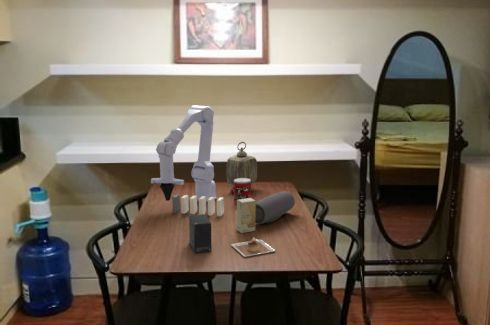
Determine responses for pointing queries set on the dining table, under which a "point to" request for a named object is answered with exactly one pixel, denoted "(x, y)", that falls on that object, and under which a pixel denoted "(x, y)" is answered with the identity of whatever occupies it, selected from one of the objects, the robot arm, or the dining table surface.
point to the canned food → (242, 189)
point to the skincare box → (246, 215)
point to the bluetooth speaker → (273, 207)
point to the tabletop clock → (241, 167)
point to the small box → (200, 233)
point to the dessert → (253, 246)
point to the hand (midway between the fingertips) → (168, 199)
